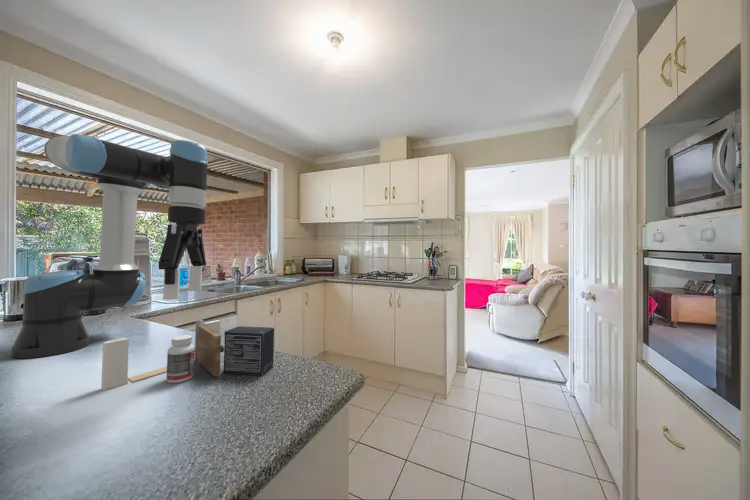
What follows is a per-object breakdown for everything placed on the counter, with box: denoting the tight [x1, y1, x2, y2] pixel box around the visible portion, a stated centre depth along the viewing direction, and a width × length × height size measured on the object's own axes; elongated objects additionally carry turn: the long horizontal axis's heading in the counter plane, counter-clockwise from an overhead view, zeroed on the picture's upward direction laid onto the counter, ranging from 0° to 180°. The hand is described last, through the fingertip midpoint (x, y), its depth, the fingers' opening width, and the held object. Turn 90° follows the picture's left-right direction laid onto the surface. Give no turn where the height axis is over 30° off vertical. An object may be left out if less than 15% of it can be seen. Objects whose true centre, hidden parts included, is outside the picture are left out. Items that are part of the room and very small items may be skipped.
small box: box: [223, 325, 275, 376], centre depth 72 cm, size 11×6×10 cm, turn 84°
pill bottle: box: [166, 334, 195, 384], centre depth 66 cm, size 5×5×10 cm
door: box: [198, 325, 224, 377], centre depth 72 cm, size 2×14×10 cm, turn 47°
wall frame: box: [100, 319, 221, 391], centre depth 71 cm, size 3×25×11 cm, turn 149°
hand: (184, 294), depth 67 cm, fingers open, 13 cm apart
